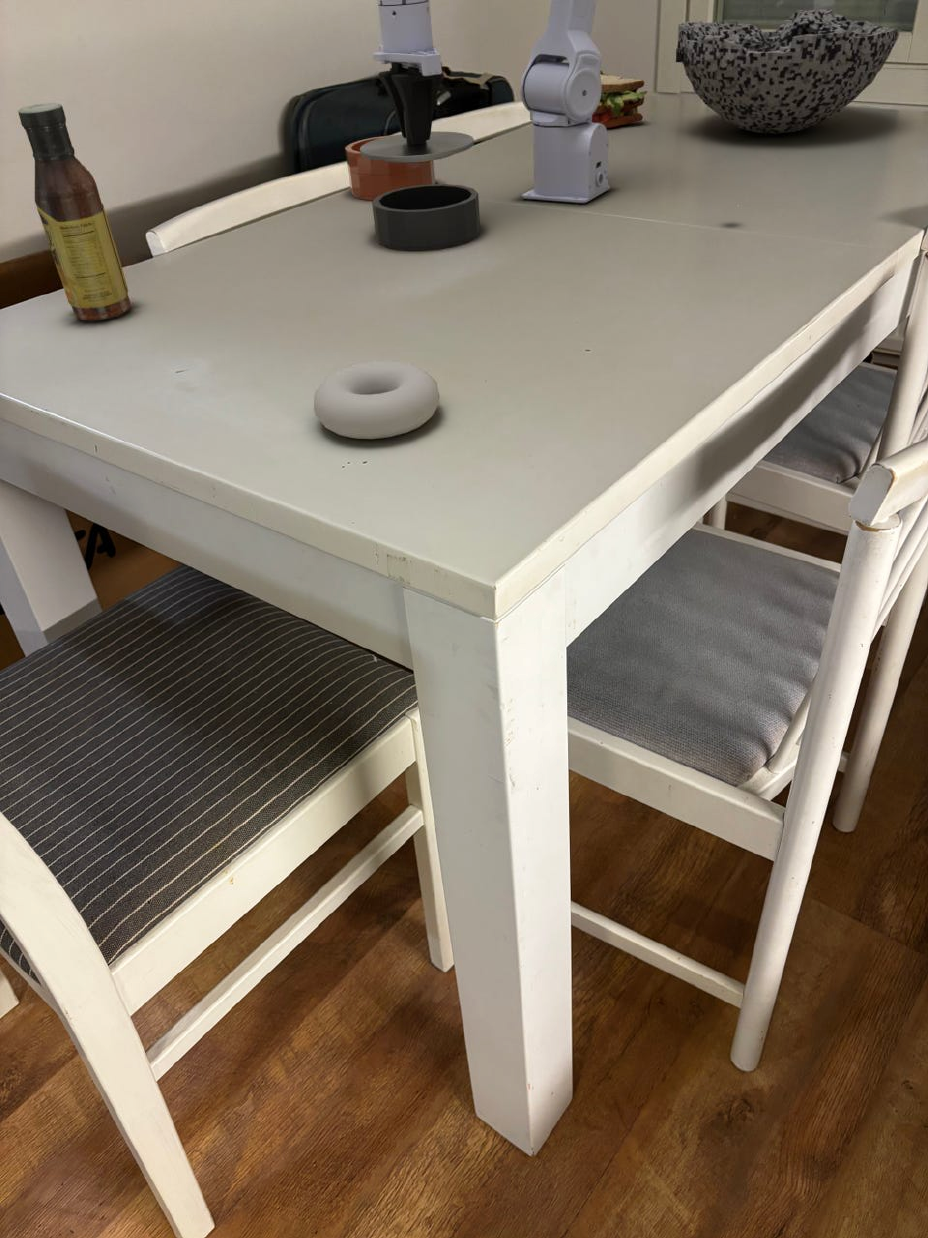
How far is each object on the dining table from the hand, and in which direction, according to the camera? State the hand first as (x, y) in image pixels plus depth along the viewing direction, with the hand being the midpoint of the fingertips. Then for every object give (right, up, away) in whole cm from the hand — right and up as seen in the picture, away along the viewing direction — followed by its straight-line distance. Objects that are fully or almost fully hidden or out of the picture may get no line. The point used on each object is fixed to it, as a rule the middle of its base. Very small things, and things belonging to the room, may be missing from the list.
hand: (416, 138), depth 113 cm
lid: (0, -1, +1) cm, 1 cm away
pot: (-5, +5, +24) cm, 25 cm away
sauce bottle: (-33, -25, -11) cm, 43 cm away
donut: (-1, -41, -37) cm, 55 cm away
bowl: (+55, +20, +38) cm, 70 cm away
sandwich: (+27, +31, +48) cm, 63 cm away
